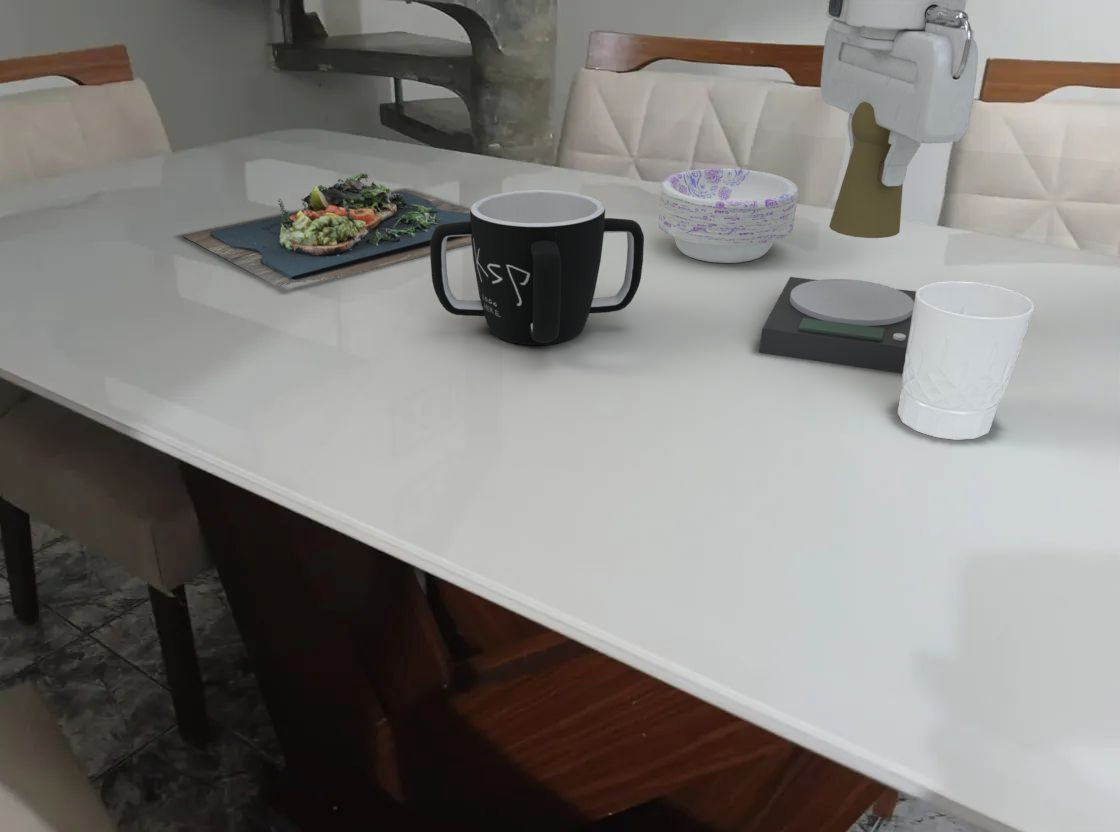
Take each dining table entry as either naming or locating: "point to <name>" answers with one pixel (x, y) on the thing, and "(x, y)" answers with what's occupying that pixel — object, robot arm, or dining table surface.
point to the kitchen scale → (841, 323)
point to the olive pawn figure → (867, 184)
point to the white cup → (960, 356)
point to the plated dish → (336, 233)
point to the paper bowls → (726, 212)
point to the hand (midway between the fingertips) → (874, 176)
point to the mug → (537, 263)
